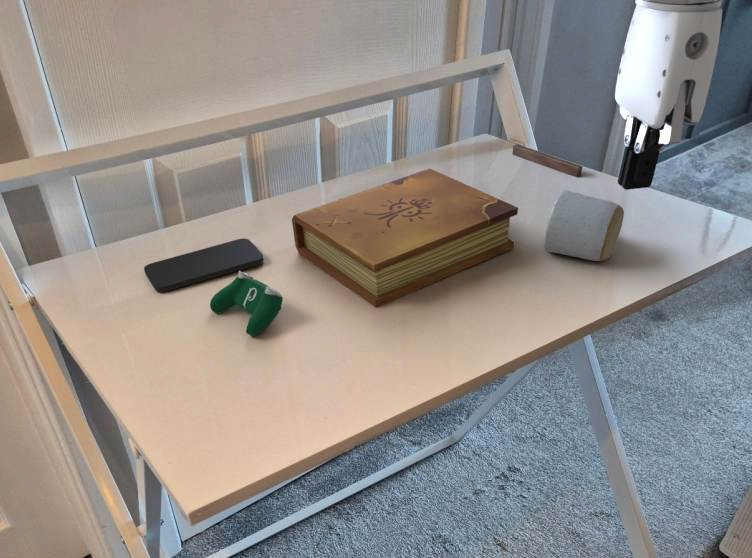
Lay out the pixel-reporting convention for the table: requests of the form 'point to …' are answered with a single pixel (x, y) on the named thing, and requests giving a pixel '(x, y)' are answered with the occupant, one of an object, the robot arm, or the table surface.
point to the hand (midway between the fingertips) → (633, 185)
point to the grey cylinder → (583, 226)
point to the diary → (403, 234)
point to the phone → (202, 264)
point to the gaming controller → (249, 301)
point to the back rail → (547, 160)
